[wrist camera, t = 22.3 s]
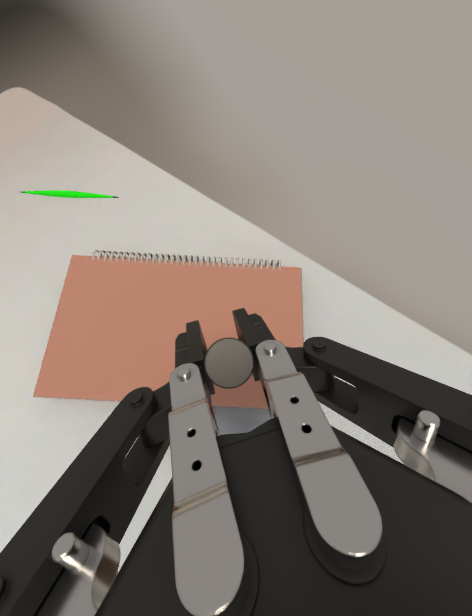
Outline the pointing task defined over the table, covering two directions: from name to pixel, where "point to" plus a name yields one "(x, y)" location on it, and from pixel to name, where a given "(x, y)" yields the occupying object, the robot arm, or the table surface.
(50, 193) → the green pen
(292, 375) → the robot arm
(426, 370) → the table surface
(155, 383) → the notebook
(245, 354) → the stylus
